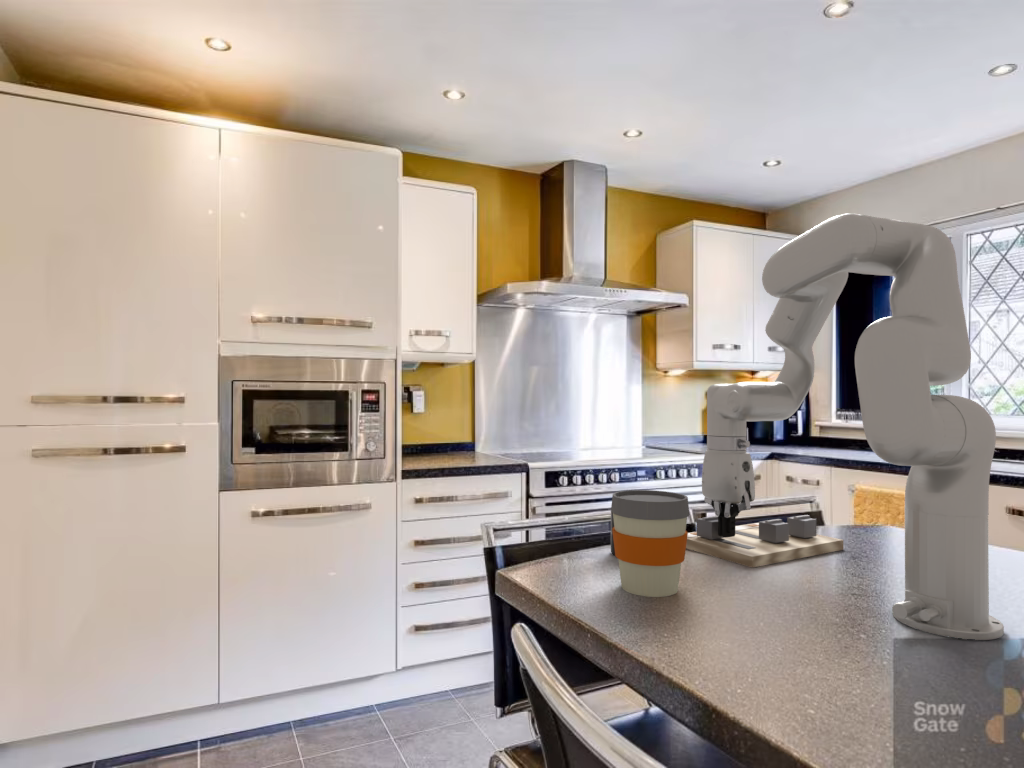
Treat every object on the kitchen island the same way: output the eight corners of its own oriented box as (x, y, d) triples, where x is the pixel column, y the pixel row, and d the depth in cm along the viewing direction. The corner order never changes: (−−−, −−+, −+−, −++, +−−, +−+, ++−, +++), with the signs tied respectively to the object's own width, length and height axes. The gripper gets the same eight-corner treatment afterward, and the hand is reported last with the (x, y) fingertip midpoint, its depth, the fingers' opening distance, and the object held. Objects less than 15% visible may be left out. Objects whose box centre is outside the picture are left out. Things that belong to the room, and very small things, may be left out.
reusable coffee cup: (662, 574, 109) (662, 488, 109) (705, 596, 97) (705, 500, 97) (597, 580, 105) (597, 491, 105) (634, 604, 93) (634, 503, 93)
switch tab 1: (711, 539, 125) (711, 519, 125) (696, 535, 129) (696, 516, 129) (725, 537, 128) (725, 517, 128) (710, 533, 131) (710, 514, 131)
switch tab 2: (775, 543, 123) (775, 522, 123) (758, 539, 126) (758, 519, 126) (789, 540, 125) (789, 520, 125) (771, 536, 128) (772, 517, 128)
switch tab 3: (804, 538, 127) (804, 518, 127) (786, 534, 131) (786, 515, 131) (816, 536, 129) (816, 516, 130) (799, 532, 133) (799, 513, 133)
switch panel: (752, 567, 113) (752, 555, 113) (672, 544, 131) (672, 534, 131) (843, 549, 127) (843, 538, 127) (760, 530, 145) (760, 521, 145)
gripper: (770, 446, 121) (770, 541, 120) (710, 441, 133) (710, 527, 133) (744, 448, 117) (744, 546, 116) (685, 443, 130) (685, 531, 129)
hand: (726, 535), depth 125 cm, fingers closed
